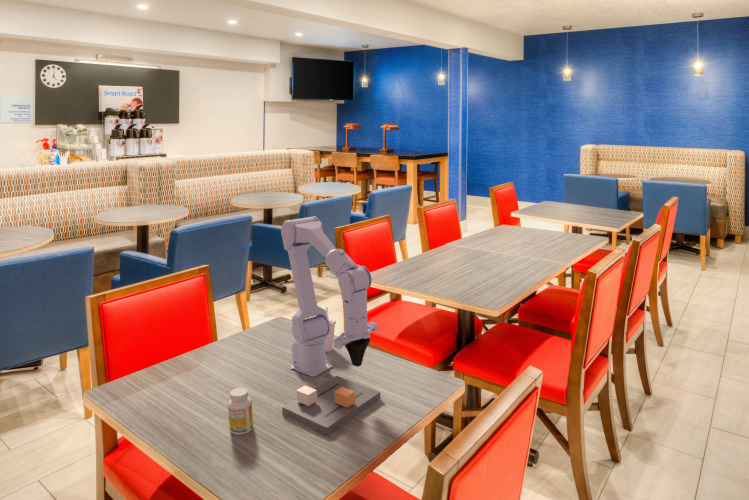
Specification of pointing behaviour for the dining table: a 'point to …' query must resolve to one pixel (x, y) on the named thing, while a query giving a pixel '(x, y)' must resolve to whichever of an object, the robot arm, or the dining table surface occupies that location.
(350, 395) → the block
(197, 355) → the dining table surface
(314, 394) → the off white fader
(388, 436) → the dining table surface
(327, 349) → the smoothie
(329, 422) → the fader console
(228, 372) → the dining table surface
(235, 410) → the supplement bottle
